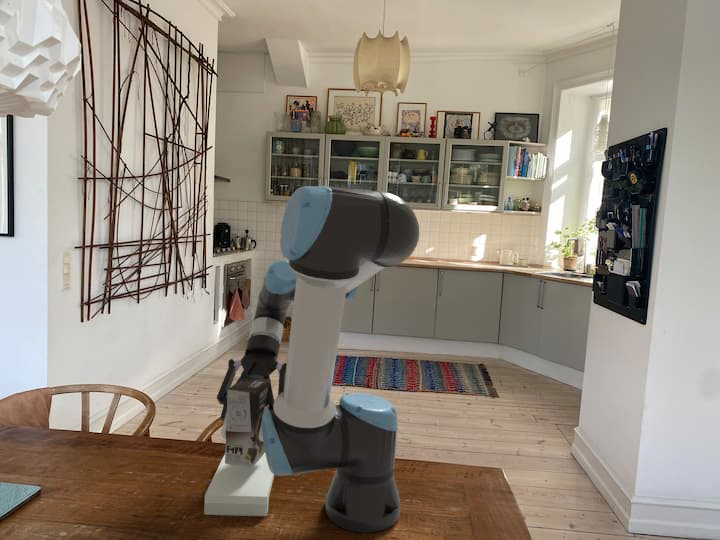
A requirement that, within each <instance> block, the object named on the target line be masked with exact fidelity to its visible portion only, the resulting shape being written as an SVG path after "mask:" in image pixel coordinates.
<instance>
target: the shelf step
mask: <svg viewBox="0 0 720 540" xmlns="http://www.w3.org/2000/svg"><path fill="white" fill-rule="evenodd" d="M274 478H275V475H274V474H273V473H272V472H271V471H270V469H269V466H268V463H267V458H266V454H265V453H264V454H263V456H262V457H261V458H260V459H259V460H258V461H257V463H256V464H255V465H254V466H253V467H252V468H248V467H242V466H236V465H230V464H225V454H224V455H223V457H222V459H221V461H220V463H219V465H218V467H217V469H216V472H215V474H214V475H213V477H212V479H211V481H210V483H209V485H208V488H207V490H206V491H205V494H204V506H203V507H204V510H203V512H204V513H203V515H204V516H205V515H207V516H208V515H209V516H210V515H211V516H213V515H214V516H237V517H238V516H241V517H247V516H248V517H267V516H268V511H269V501H270V499H269V498H270V494H271V490H272V486H273V482H274Z"/></svg>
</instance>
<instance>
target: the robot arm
mask: <svg viewBox="0 0 720 540" xmlns="http://www.w3.org/2000/svg"><path fill="white" fill-rule="evenodd" d="M419 225H420V224H419V221H418V218H417V216H416V214H415V211H413V209H412V207H411V206H410V205H409V204H408V203H407V202H406V201H404V200H403V199H402V198H401V197H399V196H398V195H395V194H393V193H390V192H386V191H381V190H380V191H379V190H376V191H373V190H366V189H365V190H363V189H355V188H354V189H353V188H344V187H337V186H336V187H335V186H328V185H320V186H317V185H316V186H314V185H313V186H311V185H306V186H305V185H304V186H301V187H298V188H297V189H295V191H294V192H293V193H292V194H291V196H290V198H289V199H288V202H287V203H286V206H285V209H284V214H283V216H282V222H281V228H280V240H279V241H280V242H279V244H280V245H279V246H280V251H281V255H282V256H283V257H284V258H285V259H287V260H285V259H282V260H276V261H275V262H273V263H271V264H270V266H269V267H268V269H267V271H266V274H265V276H264V279H263V283H262V287H261V289H260V291H259V295H258V299H257V303H256V309H255V313H254V317H253V321H252V324H251V328H250V332H249V335H248V340H247V343H246V347H245V351H244V356H242V358H241V359H239V360H234V359H232V358H230V359H229V360H228V361H227V362H228V368H227V371H226V373H225V376H224V377H223V378H224V379H223V381H222V382H221V386H220V388H219V390H218V394H217V396H216V399H217V401H218V404H219V405H221V406H223V407H222V410H221V413H220V419H221V422H223V424H222V428H221V430H220V431H221V432H220V435H221V437H222V438H223V439H225V440H226V421H227V396H228V389H229V388H230V387H232V384H233V382H234V380H235V379H234V378H235V376H236V373H237V372H238V370H239V368H241V367H242V369H243V370H242V372H241V373H240V376H239V378H238V379H237V380H236V382H235V384H236V383H237V382H239V381H240V380H242V379H243V378H246V377H249V378H262V379H270V380H271V374H273V373H274V372H275V371H276V370H277V372H278V387H277V388H278V389H277V391H278V392H277V396H276V397H275V398H274V393H273V392H274V391H273V388H272V382H271V383H270V386H269V390H268V393H267V398H268V404H269V407H268V406H265V407H264V412H263V415H262V422H261V427H260V431H259V436H258V437H259V439H260V441H264V448H265V454H266V458H267V463H268V466H269V469H270V471H271V472H272V473H273V474H274V476H281V477H283V476H295V475H299V474H306V473H313V472H318V471H326V470H327V471H328V470H332V469H336V471H335V473H334V476H333V478H332V481H331V483H330V486H329V488H328V491H327V494H326V498H325V513H326V515H327V517H328V519H329V520H330V521H331V522H332V523H334V524H335V525H336V526H338V527H340V528H342V529H345V530H347V531H350V532H355V533H362V534H364V533H366V534H368V533H369V534H370V533H376V532H383V531H385V530H387V529H389V528H391V527H393V526H394V525H395V524H396V523H397V521H398V520H399V518H400V515H401V499H400V495H399V491H398V487H397V483H396V480H395V476H394V475H395V465H396V464H395V462H396V461H395V460H396V447H397V435H398V434H397V432H398V429H399V427H398V411H397V409H396V407H395V405H394V404H393V403H391V402H390V401H389V400H387V399H385V398H383V397H381V396H379V395H374V394H370V393H365V392H347V393H344V394H342V395H341V396H340V398H339V401H338V403H339V404H336V403H335V402H334V400H333V398H331V393H332V387H333V386H332V385H333V380H334V373H335V367H336V361H337V355H338V348H339V343H340V342H339V341H340V336H341V335H340V334H341V329H342V328H341V327H342V322H343V314H344V309H345V302H347V301H348V302H349V301H351V300H353V299H355V296H356V294H357V292H358V286H360V285H361V284H362V283H364V282H366V281H367V280H369V279H370V278H372V277H373V276H374V275H376V274H377V273H379V272H380V271H382V270H383V269H391V268H395V267H396V266H399V265H400V264H401V263H404V262H405V261H406V260H407V259H408V258H409V257H410V256H412V254H413V252H414V251H415V250H416V248H417V246H418V243H419V238H420V226H419ZM291 302H293V306H292V315H291V322H290V324H291V325H290V331H289V340H288V348H287V357H286V362H284V363H281V362H278V357H279V354H280V353H279V352H280V346H281V342H282V338H283V333H284V327H285V322H286V317H287V314H288V311H289V307H290V306H291Z"/></svg>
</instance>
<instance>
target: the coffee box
mask: <svg viewBox="0 0 720 540" xmlns="http://www.w3.org/2000/svg"><path fill="white" fill-rule="evenodd" d="M236 382H237V381H236ZM236 382H235V383H234V384H233V385H231V387H230V388H229V389H228V396H227V421H226V439H225V452H224V455H225V464H230V465H236V466H242V467H248V468H252V467H253V466H254V465H255V464H256V463H257V461H258V460H259V459H260V458H261V457H262V456H263V454H264V453H265V448H264V441H260V439H259V437H258V436H259V431H260V427H261V422H262V415H263V412H264V407H265V406H268V407H269V404H268V398H267V393H268V390H269V386H270V383H271V384H272V381H271V378H270V379H262V378H249V377H246V378H243V379H242V380H240V381H239V382H237V383H236Z"/></svg>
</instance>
